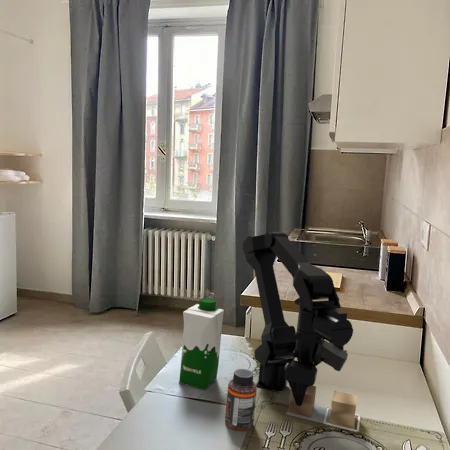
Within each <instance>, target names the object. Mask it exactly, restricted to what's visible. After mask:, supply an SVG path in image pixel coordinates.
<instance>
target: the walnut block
mask: <svg viewBox="0 0 450 450" xmlns="http://www.w3.org/2000/svg"><path fill="white" fill-rule="evenodd" d="M316 393H317V385H313V386H309V387H307V390H306V393H305V396H304V400H303V403H302V406H297V405H296V402H295V400H294V397H293V394H292V391H291V390H290V394H289V402H288V408H289V409H287V411H288V412H290V413H294V414H298V415H302V416H306V417H310V418H311V415H312V412H313V409H314V405H315V402H316V401H315V400H316Z"/></svg>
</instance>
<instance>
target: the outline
mask: <svg viewBox="0 0 450 450" xmlns="http://www.w3.org/2000/svg"><path fill="white" fill-rule="evenodd" d="M326 408H327V411H326V414H325V418H324V422H323V423H322V424H324V425H328V426H331V427H335V428H339V429H343V430H345V431H346V430H347V431H351V432H355V433H359V432H360V422H361V415H360V414H358V413H355V416H356V417H357V424H356V429H350V428H346V427H342V426H338V425H334V424H330V423H326V419H327V415H328V411H329V409H330V410H331V407H326Z"/></svg>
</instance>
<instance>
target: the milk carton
mask: <svg viewBox="0 0 450 450" xmlns="http://www.w3.org/2000/svg"><path fill="white" fill-rule="evenodd" d="M216 305H217V300H216V299H213V298H209V297H204V298H200V299H199V304H198V303H196V304H195V305H192V306H191V307H188V308H187V309H186V310H184V311H183V312H182V315H183V318H182V319H183V334H182V346H181V359H180V360H181V361H180V368H179V369H180V371H179V381H178V382H179V384H182V385H186V386H190V387H193V388H197V389H200V390H204V391H205V390H207V388H209V387H210V386H211V385H212V384H213V383H214V382H215V381H216V380H217V377H218V372H219V371H218V370H219V363H220V355H221V354H220V352H221V340H222V331H223V330H222V329H223V319H224V312H225V311H224V310H225V309H224V308H223V309H222V308H219V307H216Z"/></svg>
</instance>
